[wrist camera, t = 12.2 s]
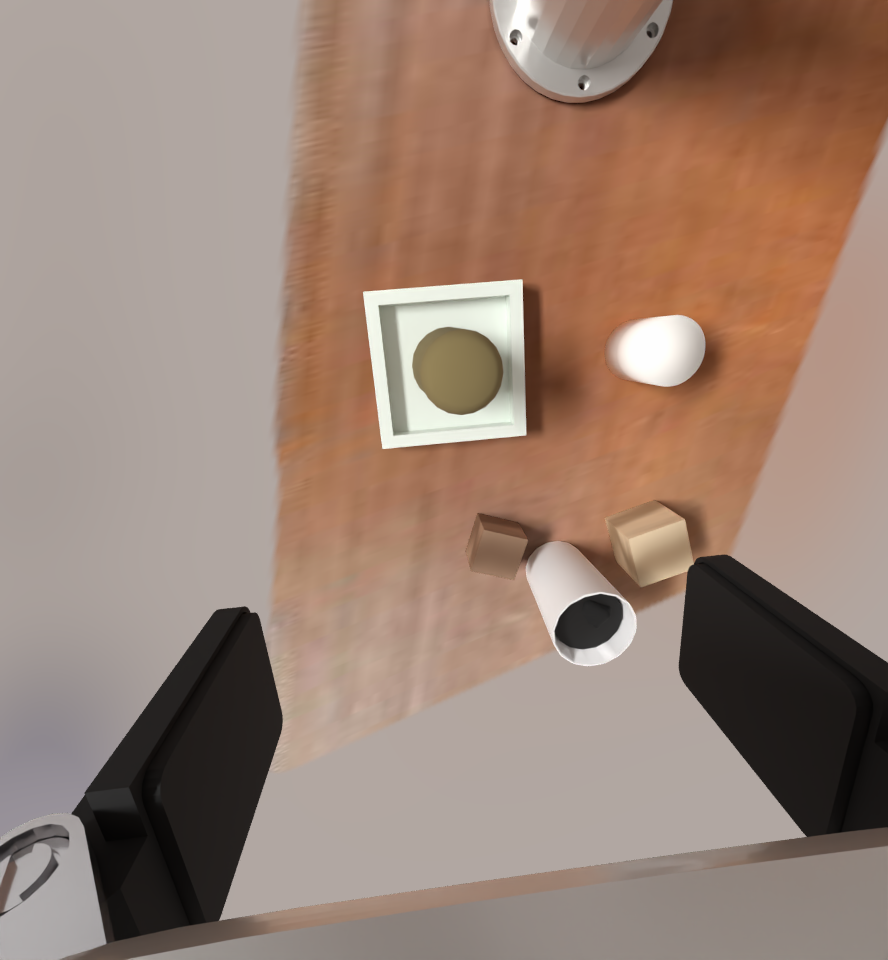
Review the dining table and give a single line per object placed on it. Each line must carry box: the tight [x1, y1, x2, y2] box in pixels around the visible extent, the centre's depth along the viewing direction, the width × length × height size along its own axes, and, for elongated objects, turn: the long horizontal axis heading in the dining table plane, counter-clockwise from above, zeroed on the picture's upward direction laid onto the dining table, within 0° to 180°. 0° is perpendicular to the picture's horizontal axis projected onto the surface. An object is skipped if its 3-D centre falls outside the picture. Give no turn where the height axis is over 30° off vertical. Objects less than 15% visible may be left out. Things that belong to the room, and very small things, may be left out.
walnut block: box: [466, 513, 528, 580], centre depth 41 cm, size 4×4×4 cm
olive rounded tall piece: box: [412, 327, 503, 415], centre depth 32 cm, size 6×6×11 cm
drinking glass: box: [526, 541, 636, 666], centre depth 39 cm, size 7×7×10 cm
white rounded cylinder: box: [604, 315, 705, 387], centre depth 36 cm, size 5×5×6 cm
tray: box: [363, 280, 526, 449], centre depth 37 cm, size 12×12×2 cm
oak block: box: [605, 500, 694, 587], centre depth 41 cm, size 5×5×5 cm
